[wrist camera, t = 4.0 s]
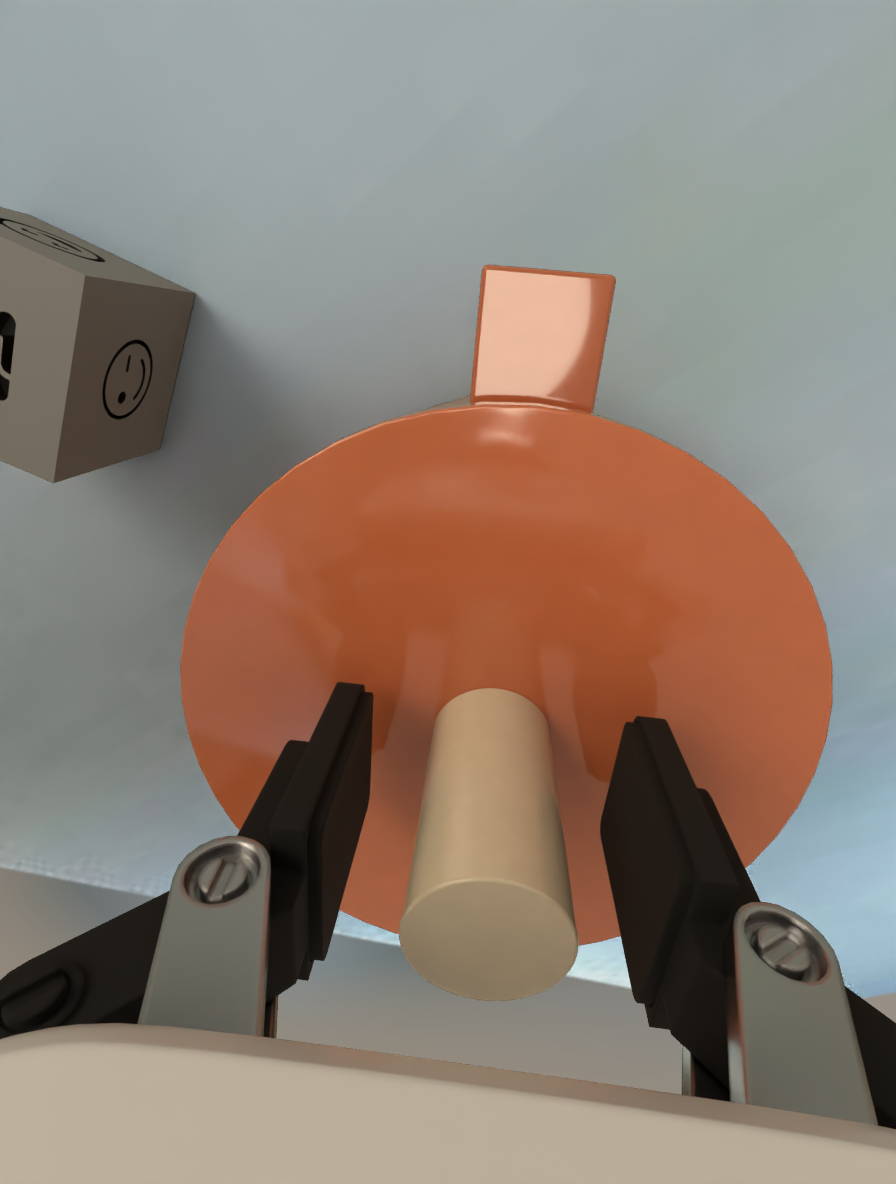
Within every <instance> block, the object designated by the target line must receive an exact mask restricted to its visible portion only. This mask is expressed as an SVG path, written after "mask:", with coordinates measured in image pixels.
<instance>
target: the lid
mask: <svg viewBox="0 0 896 1184" xmlns="http://www.w3.org/2000/svg"><path fill="white" fill-rule="evenodd" d="M180 670H181V691H182V704H183V709H184V714H185V719H186V724H187V729H188V734H189V737H190V740H191V743H192V746H193V748H194V751H195V754H196V757H197V760H198V763H199V766H200V768H201V770H202V772H203V774H204V776H205V778H206V780H207V782H208V783H209V785H210V787H211V789H212V791H213V793H214V795H215V797H216V798H217V800H218V801H219V803H220V804H221V806H222V807H223V809H224V810H225V812H226V813H227V815H228V816H229V818H230V819H231V821H232V822H233V823H234V824H235V826H236V827H237V828H238V829H239V830H241V828H242V826H243V824H244V822H245V820H246V818H247V816H248V815H249V813H250V811H251V809H252V807H253V805H254V803H255V801H256V799H257V798H258V796H259V794H260V792H261V790H262V788H263V786H264V784H265V782H266V780H267V779H268V777H269V775H270V773H271V771H272V769H273V767H274V765H275V763H276V762H277V760H278V758H279V756H280V754H281V752H282V750H283V748H284V746H285V745H286V743H287V742H288V741H289V740H298V741H307V742H309V740H310V738H311V736H312V734H313V732H314V730H315V728H316V726H317V723H318V721H319V719H320V717H321V715H322V713H323V711H324V709H325V707H326V704H327V702H328V700H329V698H330V696H331V694H332V692H333V690H334V688H335V685H336V684H337V682H346V683H355V684H363V685H364V686H365V692H372V693H373V726H372V754H371V782H370V798H369V804H368V809H367V812H366V816H365V820H364V823H363V827H362V830H361V834H360V837H359V841H358V845H357V848H356V852H355V855H354V859H353V862H352V866H351V870H350V873H349V877H348V880H347V884H346V887H345V891H344V895H343V898H342V902H341V905H340V909H339V910H341V911H343V912H345V913H347V914H349V915H351V916H353V917H355V918H357V919H359V920H361V921H364V922H366V923H369V924H371V925H374V926H377V927H380V928H382V929H385V930H388V931H390V932H393V933H396V934H399V940H400V944H401V948H402V951H403V953H404V956H405V957H406V959H407V961H408V962H409V964H410V965H411V966H412V967H413V969H414V970H415V971H416V972H417V973H418V974H419V975H421V976H422V977H423V978H424V979H426V980H427V981H428V982H430V983H431V984H433V985H435V986H437V987H438V988H440V989H443V990H445V991H447V992H449V993H452V994H455V995H458V996H462V997H466V998H470V999H475V1000H484V1001H509V1000H516V999H522V998H526V997H529V996H533V995H536V994H538V993H541V992H543V991H545V990H547V989H549V988H551V987H552V986H554V985H555V984H557V983H558V982H559V981H560V980H561V979H562V978H564V977H565V976H566V974H567V973H568V972H569V971H570V969H571V967H572V966H573V964H574V962H575V959H576V956H577V953H578V947H579V946H580V945H585V944H591V943H596V942H601V941H604V940H608V939H612V938H615V937H619V936H621V934H620V929H619V925H618V920H617V915H616V910H615V905H614V900H613V896H612V891H611V886H610V881H609V876H608V871H607V866H606V862H605V857H604V852H603V847H602V842H601V837H600V822H601V817H602V813H603V809H604V805H605V801H606V797H607V793H608V788H609V784H610V780H611V776H612V772H613V768H614V764H615V760H616V756H617V752H618V748H619V744H620V740H621V736H622V732H623V728H624V725H625V723H626V722H633V721H634V719H635V717H637V716H644V717H653V718H661V719H665V720H666V721H667V722H668V724H669V727H670V729H671V731H672V733H673V736H674V738H675V740H676V742H677V744H678V747H679V749H680V751H681V753H682V756H683V758H684V760H685V762H686V765H687V767H688V769H689V771H690V774H691V776H692V778H693V780H694V783H695V785H696V787H697V788H703V789H705V790H707V791H708V792H709V794H710V796H711V797H712V799H713V801H714V803H715V806H716V808H717V810H718V812H719V814H720V816H721V818H722V820H723V823H724V825H725V827H726V829H727V831H728V833H729V835H730V838H731V840H732V842H733V844H734V846H735V848H736V850H737V852H738V855H739V857H740V859H741V861H742V863H743V865H744V867H745V868H746V867H747V866H749V865H750V864H751V863H752V862H753V861H754V860H755V859H756V858H757V857H758V856H759V855H760V854H761V853H762V852H763V851H764V849H765V848H766V847H767V846H768V845H769V844H770V843H771V842H772V841H773V840H774V839H775V838H776V837H777V835H778V834H779V833H780V831H781V830H782V828H783V827H784V826H785V824H786V823H787V821H788V820H789V819H790V817H791V816H792V814H793V813H794V811H795V810H796V809H797V807H798V806H799V804H800V802H801V800H802V798H803V796H804V794H805V792H806V790H807V788H808V786H809V784H810V782H811V780H812V778H813V776H814V774H815V771H816V769H817V766H818V763H819V760H820V757H821V754H822V751H823V748H824V745H825V742H826V738H827V732H828V726H829V720H830V714H831V708H832V660H831V654H830V648H829V642H828V636H827V631H826V625H825V622H824V619H823V616H822V613H821V610H820V608H819V605H818V602H817V599H816V596H815V593H814V591H813V588H812V585H811V583H810V581H809V580H808V578H807V576H806V574H805V572H804V571H803V569H802V567H801V565H800V563H799V562H798V560H797V558H796V556H795V554H794V553H793V551H792V549H791V547H790V546H789V545H788V543H787V542H786V541H785V540H784V538H783V537H782V536H781V535H780V533H779V532H778V531H777V530H776V528H775V527H774V526H773V525H772V523H771V522H770V521H769V520H768V518H767V517H766V516H765V515H764V513H763V512H762V511H761V510H760V509H759V508H758V507H757V506H756V505H754V504H753V503H752V502H751V501H750V500H749V499H748V498H747V497H746V496H745V495H743V494H742V493H741V492H740V491H739V490H738V489H737V488H736V487H735V486H734V485H733V484H731V483H730V482H729V481H728V480H727V479H726V478H724V477H723V476H721V475H720V474H718V473H717V472H715V471H714V470H712V469H711V468H709V467H708V466H706V465H705V464H703V463H702V462H700V461H699V460H697V459H696V458H694V457H693V456H691V455H690V454H688V453H687V452H685V451H683V450H682V449H680V448H678V447H676V446H674V445H672V444H670V443H668V442H666V441H664V440H662V439H660V438H657V437H655V436H653V435H651V434H649V433H647V432H645V431H643V430H641V429H638V428H636V427H634V426H632V425H628V424H625V423H622V422H619V421H615V420H612V419H609V418H606V417H603V416H599V415H596V414H593V413H590V412H586V411H581V410H575V409H569V408H563V407H557V406H551V405H545V404H539V403H519V402H476V403H467V404H459V405H450V406H441V407H433V408H429V409H425V410H421V411H417V412H414V413H410V414H406V415H402V416H398V417H394V418H390V419H386V420H384V421H381V422H379V423H377V424H374V425H372V426H369V427H367V428H364V429H362V430H360V431H357V432H355V433H352V434H350V435H347V436H345V437H343V438H341V439H339V440H337V441H336V442H334V443H332V444H331V445H329V446H327V447H326V448H324V449H322V450H321V451H319V452H317V453H315V454H314V455H312V456H310V457H309V458H307V459H305V460H304V461H302V462H300V463H299V464H297V465H295V466H294V467H293V468H292V469H291V470H289V471H288V472H287V473H286V474H284V475H283V476H282V477H281V478H279V479H278V480H277V481H276V482H274V483H273V484H272V485H271V486H270V487H268V488H267V489H266V490H265V491H263V492H262V493H261V494H260V495H259V496H258V497H257V498H256V499H255V500H254V502H253V503H252V504H251V505H250V506H249V507H248V508H247V509H246V510H245V511H244V513H243V514H242V515H241V516H240V517H239V518H238V519H237V520H236V521H235V522H234V524H233V525H232V526H231V528H230V529H229V531H228V532H227V534H226V535H225V537H224V538H223V540H222V541H221V543H220V544H219V546H218V547H217V549H216V550H215V552H214V553H213V555H212V556H211V558H210V560H209V562H208V564H207V566H206V569H205V571H204V573H203V575H202V577H201V580H200V582H199V584H198V586H197V589H196V591H195V593H194V596H193V600H192V603H191V607H190V611H189V614H188V618H187V622H186V625H185V629H184V637H183V646H182V655H181V665H180Z"/></svg>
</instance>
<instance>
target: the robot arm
mask: <svg viewBox="0 0 896 1184" xmlns="http://www.w3.org/2000/svg"><path fill="white" fill-rule="evenodd" d="M372 726H373V693H372V692H365V686H364V685H363V684H355V683H346V682H337V684H336V685H335V688H334V690H333V692H332V694H331V696H330V698H329V700H328V702H327V704H326V707H325V709H324V711H323V713H322V715H321V717H320V719H319V721H318V723H317V726H316V728H315V730H314V732H313V734H312V736H311V738H310V740H309V742H307V741H298V740H289V741H288V742H287V743H286V745H285V746H284V748H283V750H282V752H281V754H280V756H279V758H278V760H277V762H276V763H275V765H274V767H273V769H272V771H271V773H270V775H269V777H268V779H267V780H266V782H265V784H264V786H263V788H262V790H261V792H260V794H259V796H258V798H257V799H256V801H255V803H254V805H253V807H252V809H251V811H250V813H249V815H248V816H247V818H246V820H245V822H244V824H243V826H242V828H241V830H240V832H239V833H238V835H237V836H226V837H222V838H217V839H213V840H211V841H209V842H207V843H204V844H202V845H200V846H199V847H197V848H196V849H194V850H193V851H192V852H190V853H189V854H188V855H187V856H186V857H185V858H184V859H183V861H182V862H181V863H180V864H179V865H178V868H177V870H176V872H175V874H174V877H173V880H172V884H171V888H170V891H168V892H166V893H164V894H162V895H160V896H158V897H156V898H154V899H152V900H150V901H148V902H146V903H144V904H142V905H140V906H138V907H136V908H134V909H132V910H130V911H128V912H126V913H124V914H122V915H120V916H118V917H116V918H114V919H112V920H110V921H108V922H106V923H104V924H102V925H100V926H98V927H96V928H94V929H91V930H89V931H87V932H86V933H83V934H81V935H79V936H78V937H75V938H73V939H71V940H69V941H68V942H66V943H63V944H61V945H60V946H57V947H55V948H53V949H51V950H49V951H47V952H45V953H43V954H41V955H39V956H37V957H35V958H33V959H31V960H29V961H28V962H26V963H24V964H22V965H21V966H19V967H17V968H16V969H14V970H12V971H11V972H9V973H8V974H7V975H6V976H5V977H3V978H2V979H1V980H0V1184H896V1023H895V1022H893V1021H892V1020H891V1019H889V1018H888V1017H886V1016H885V1015H884V1014H882V1013H881V1012H880V1011H878V1010H877V1009H876V1008H874V1007H873V1006H871V1005H870V1004H869V1003H867V1002H866V1001H865V1000H863V999H862V998H861V997H859V996H858V995H856V994H855V993H854V992H852V991H851V990H850V989H848V988H847V987H846V986H844V981H843V977H842V973H841V969H840V965H839V962H838V960H837V957H836V955H835V952H834V950H833V948H832V947H831V946H830V944H829V943H828V941H827V940H826V939H825V937H824V936H823V935H822V934H821V933H820V932H819V931H818V930H817V929H816V928H815V927H814V926H813V925H812V924H811V923H809V922H808V921H806V920H805V919H804V918H802V917H801V916H799V915H798V914H796V913H795V912H793V911H790V910H788V909H786V908H784V907H782V906H779V905H775V904H771V903H767V902H760V899H759V897H758V895H757V893H756V891H755V889H754V887H753V884H752V882H751V880H750V878H749V876H748V874H747V872H746V870H745V867H744V865H743V863H742V861H741V859H740V857H739V855H738V852H737V850H736V848H735V846H734V844H733V842H732V840H731V838H730V835H729V833H728V831H727V829H726V827H725V825H724V823H723V820H722V818H721V816H720V814H719V812H718V810H717V808H716V806H715V803H714V801H713V799H712V797H711V796H710V794H709V792H708V791H707V790H705V789H703V788H697V787H696V785H695V783H694V780H693V778H692V776H691V774H690V771H689V769H688V767H687V765H686V762H685V760H684V758H683V756H682V753H681V751H680V749H679V747H678V744H677V742H676V740H675V738H674V736H673V733H672V731H671V729H670V727H669V724H668V722H667V721H666V720H665V719H661V718H653V717H644V716H637V717H635V719H634V721H633V722H626V723H625V725H624V728H623V732H622V736H621V740H620V744H619V748H618V752H617V756H616V760H615V764H614V768H613V772H612V776H611V780H610V784H609V788H608V793H607V797H606V801H605V805H604V809H603V813H602V817H601V822H600V837H601V842H602V847H603V852H604V857H605V862H606V866H607V871H608V876H609V881H610V886H611V891H612V896H613V900H614V905H615V910H616V915H617V920H618V925H619V929H620V934H621V939H622V944H623V949H624V954H625V959H626V963H627V968H628V973H629V978H630V983H631V988H632V992H633V996H634V999H635V1001H636V1002H637V1003H643V1004H645V1009H646V1013H647V1018H648V1023H649V1027H655V1028H662V1029H669V1030H670V1032H671V1034H672V1035H673V1036H674V1037H675V1038H676V1039H677V1040H678V1041H679V1042H680V1043H681V1044H682V1045H683V1050H682V1095H680V1094H673V1093H666V1092H659V1091H652V1090H645V1089H638V1088H631V1087H625V1086H618V1085H611V1084H604V1083H597V1082H590V1081H583V1080H575V1079H568V1078H561V1077H554V1076H547V1075H540V1074H533V1073H525V1072H519V1071H511V1070H504V1069H497V1068H490V1067H482V1066H475V1065H468V1064H461V1063H454V1062H446V1061H439V1060H432V1059H425V1058H417V1057H410V1056H403V1055H395V1054H388V1053H380V1052H373V1051H365V1050H357V1049H350V1048H343V1047H335V1046H327V1045H320V1044H313V1043H306V1042H297V1041H290V1040H283V1039H276V1032H277V1010H278V995H279V994H281V993H282V992H283V991H285V990H286V989H288V988H289V987H291V986H292V985H294V984H295V983H296V981H297V979H300V980H307V981H308V979H309V976H310V972H311V969H312V965H313V962H314V960H321V961H324V959H325V958H326V954H327V952H328V948H329V944H330V941H331V937H332V934H333V930H334V927H335V923H336V920H337V916H338V912H339V909H340V905H341V902H342V898H343V895H344V891H345V887H346V884H347V880H348V877H349V873H350V870H351V866H352V862H353V859H354V855H355V852H356V848H357V845H358V841H359V837H360V834H361V830H362V827H363V823H364V820H365V816H366V812H367V809H368V804H369V798H370V782H371V754H372Z"/></svg>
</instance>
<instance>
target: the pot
mask: <svg viewBox="0 0 896 1184" xmlns="http://www.w3.org/2000/svg"><path fill="white" fill-rule="evenodd" d="M615 284H616V279H615V277H614V276H613V275H607V274H595V273H583V272H571V271H559V270H548V269H536V268H524V267H512V266H500V265H485V266H484V267H483V269H482V274H481V285H480V296H479V307H478V317H477V328H476V339H475V350H474V361H473V372H472V382H471V393H470V395H469V396H466V397H463V398H460V399H457V400H454V401H451V402H447V403H444V404H440V405H436V406H433V407H441V406H450V405H459V404H467V403H476V402H519V403H539V404H545V405H551V406H557V407H563V408H569V409H575V410H581V411H586V412H590V413H593V410H594V404H595V398H596V393H597V387H598V381H599V375H600V370H601V364H602V358H603V353H604V347H605V341H606V335H607V330H608V324H609V318H610V313H611V307H612V301H613V295H614V290H615ZM433 407H431V408H433ZM428 409H429V408H428Z"/></svg>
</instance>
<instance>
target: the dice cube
mask: <svg viewBox="0 0 896 1184" xmlns="http://www.w3.org/2000/svg"><path fill="white" fill-rule="evenodd" d="M194 297H195V293H194V292H192V291H190V290H187V289H185V288H183V287H181V286H179V285H177V284H175V283H173V282H171V281H168V280H166V279H164V278H162V277H160V276H158V275H156V274H154V273H152V272H149V271H147V270H145V269H143V268H141V267H139V266H137V265H135V264H132V263H130V262H128V261H126V260H124V259H122V258H120V257H118V256H116V255H113V254H111V253H109V252H107V251H105V250H103V249H101V248H99V247H96V246H94V245H92V244H90V243H88V242H86V241H84V240H82V239H80V238H77V237H75V236H73V235H71V234H69V233H67V232H65V231H63V230H60V229H58V228H56V227H54V226H52V225H50V224H48V223H46V222H44V221H41V220H39V219H37V218H35V217H33V216H31V215H28V214H24V213H21V212H17V211H13V210H10V209H6V208H2V207H0V461H3V462H5V463H7V464H10V465H12V466H14V467H17V468H19V469H21V470H23V471H26V472H28V473H30V474H33V475H35V476H37V477H40V478H42V479H44V480H47V481H49V482H51V483H55V482H59V481H62V480H65V479H68V478H71V477H74V476H77V475H81V474H84V473H87V472H90V471H93V470H96V469H99V468H103V467H106V466H109V465H112V464H115V463H118V462H122V461H125V460H128V459H131V458H134V457H137V456H140V455H144V454H147V453H150V452H153V451H156V450H159V449H160V446H161V441H162V437H163V433H164V428H165V424H166V419H167V415H168V411H169V406H170V402H171V398H172V393H173V389H174V384H175V380H176V376H177V371H178V367H179V362H180V358H181V354H182V349H183V345H184V341H185V336H186V332H187V327H188V323H189V319H190V314H191V310H192V305H193V301H194Z"/></svg>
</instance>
